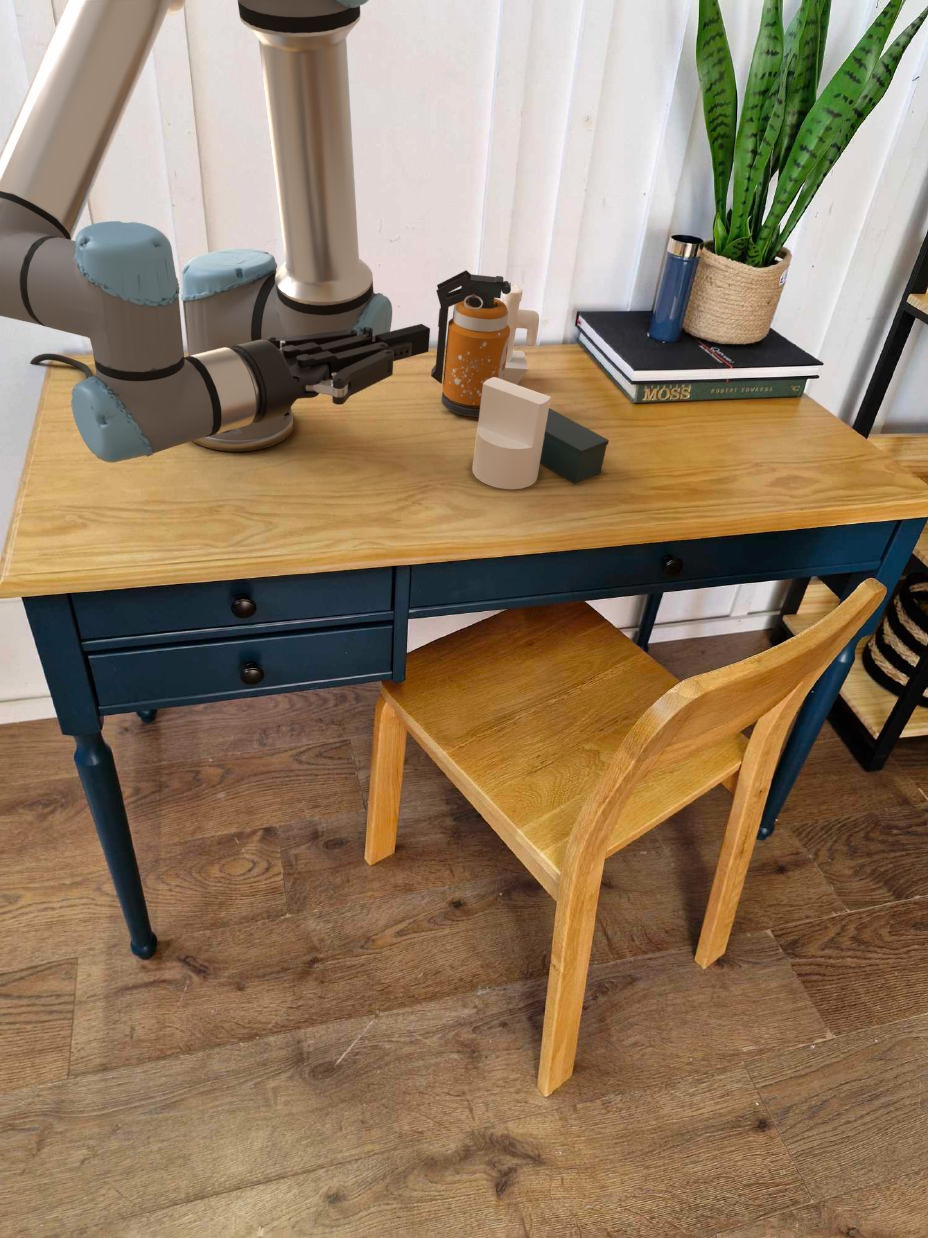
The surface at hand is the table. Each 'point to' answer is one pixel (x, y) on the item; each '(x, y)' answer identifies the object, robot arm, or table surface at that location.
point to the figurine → (516, 319)
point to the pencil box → (571, 448)
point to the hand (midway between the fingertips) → (424, 337)
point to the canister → (471, 339)
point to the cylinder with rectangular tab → (509, 434)
